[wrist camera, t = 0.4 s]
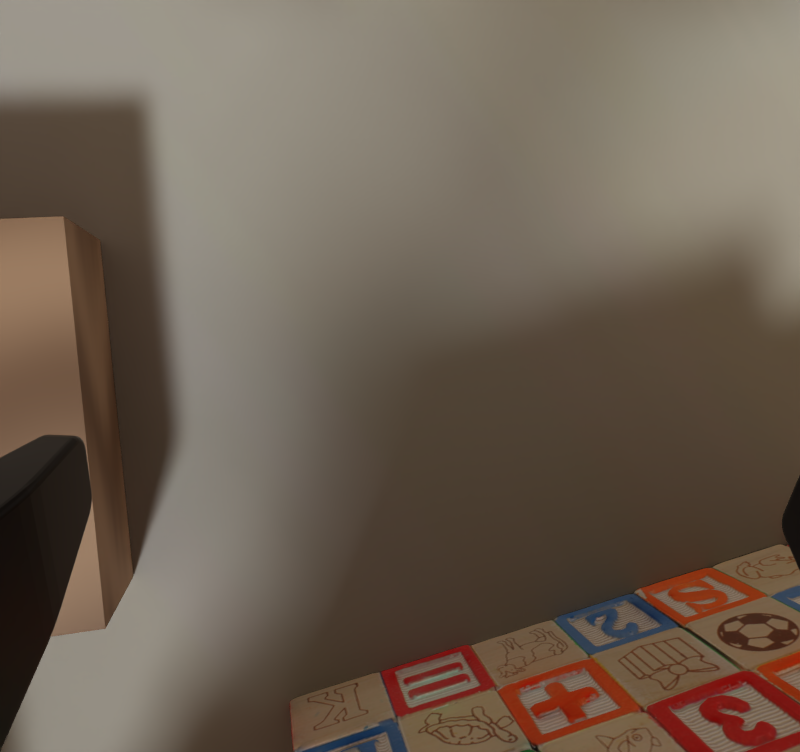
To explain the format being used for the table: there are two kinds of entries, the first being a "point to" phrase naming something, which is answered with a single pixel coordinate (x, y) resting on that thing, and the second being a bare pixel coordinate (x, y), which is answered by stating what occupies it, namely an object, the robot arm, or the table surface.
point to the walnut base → (66, 392)
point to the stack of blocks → (596, 677)
